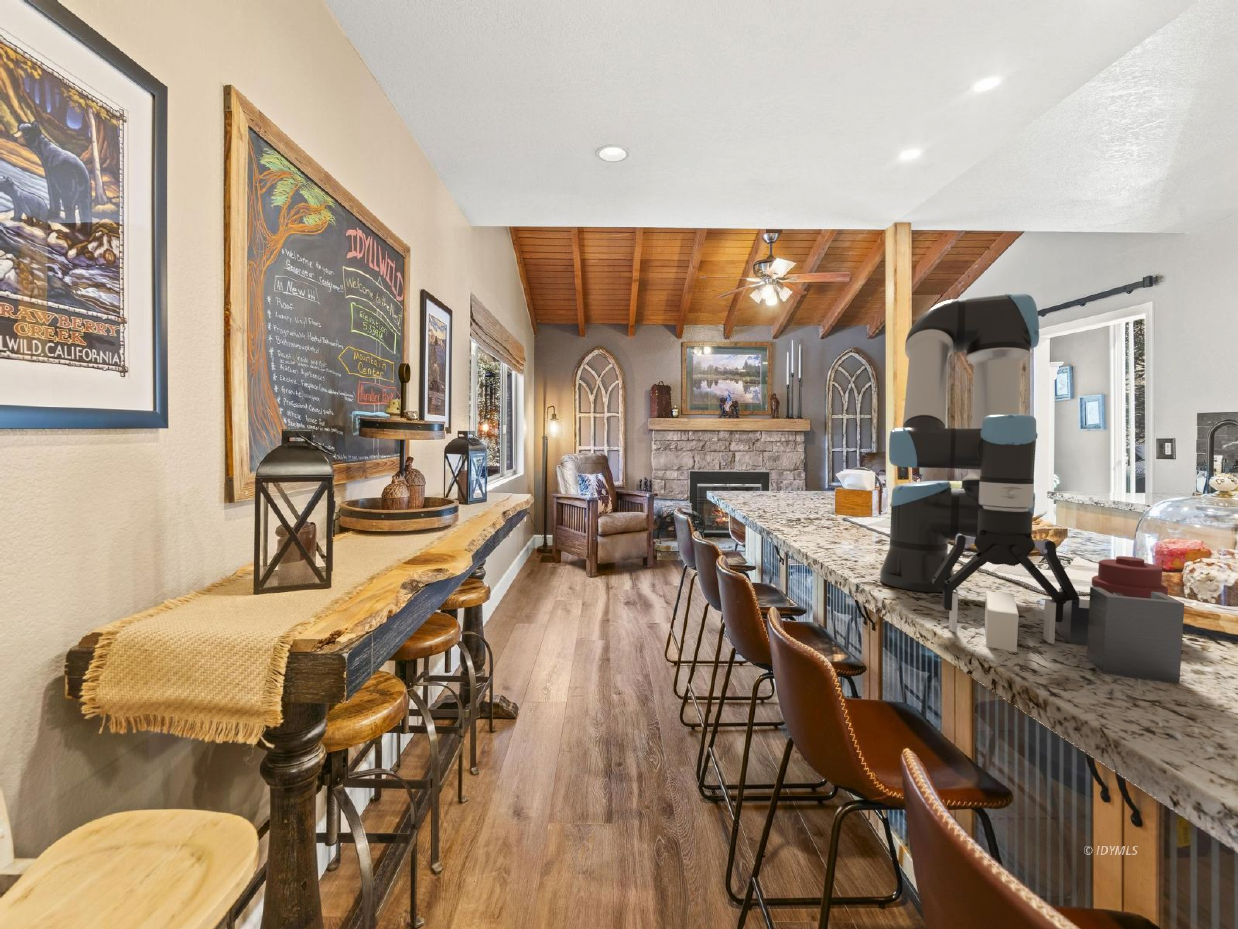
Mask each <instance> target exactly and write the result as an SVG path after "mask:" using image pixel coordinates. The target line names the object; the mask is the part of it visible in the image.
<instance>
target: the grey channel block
mask: <svg viewBox="0 0 1238 929" xmlns="http://www.w3.org/2000/svg"><path fill="white" fill-rule="evenodd" d="M1058 592H1062V589H1061V587H1058ZM1113 595H1115V596H1124V595H1123V594H1121V593H1113ZM1089 601H1090V599H1084V598H1083V599H1082V598H1080V597H1079V598H1078V599H1077V600H1070V601H1066V603H1065V604H1063V620H1062V622H1056V624H1057V627H1056V629H1057V630H1056V632H1057V633H1058V634H1059V635H1060V636H1061V637H1062V638H1063V639H1064V640H1066V642H1068V643H1069V644H1072V645H1073V644H1075V645H1083V646H1087V639H1088V620H1089Z"/></svg>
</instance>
